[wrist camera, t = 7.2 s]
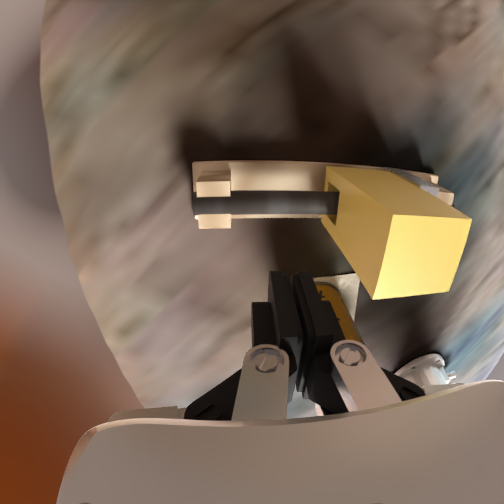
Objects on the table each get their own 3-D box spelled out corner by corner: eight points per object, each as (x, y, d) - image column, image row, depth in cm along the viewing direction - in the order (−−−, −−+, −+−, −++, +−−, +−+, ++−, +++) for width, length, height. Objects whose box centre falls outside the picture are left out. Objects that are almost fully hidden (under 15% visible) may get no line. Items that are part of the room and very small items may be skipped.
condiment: (284, 280, 30) (307, 372, 19) (360, 271, 30) (409, 350, 19) (285, 331, 33) (303, 418, 22) (352, 321, 33) (387, 399, 22)
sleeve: (388, 171, 23) (472, 219, 13) (380, 222, 25) (448, 291, 15) (326, 166, 22) (392, 214, 12) (321, 221, 25) (372, 299, 15)
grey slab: (401, 168, 23) (439, 188, 18) (392, 221, 26) (425, 250, 21) (383, 166, 23) (420, 185, 18) (375, 221, 26) (407, 250, 20)
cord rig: (434, 174, 25) (463, 188, 20) (425, 218, 27) (451, 237, 23) (193, 161, 23) (183, 174, 19) (196, 215, 26) (188, 239, 21)
